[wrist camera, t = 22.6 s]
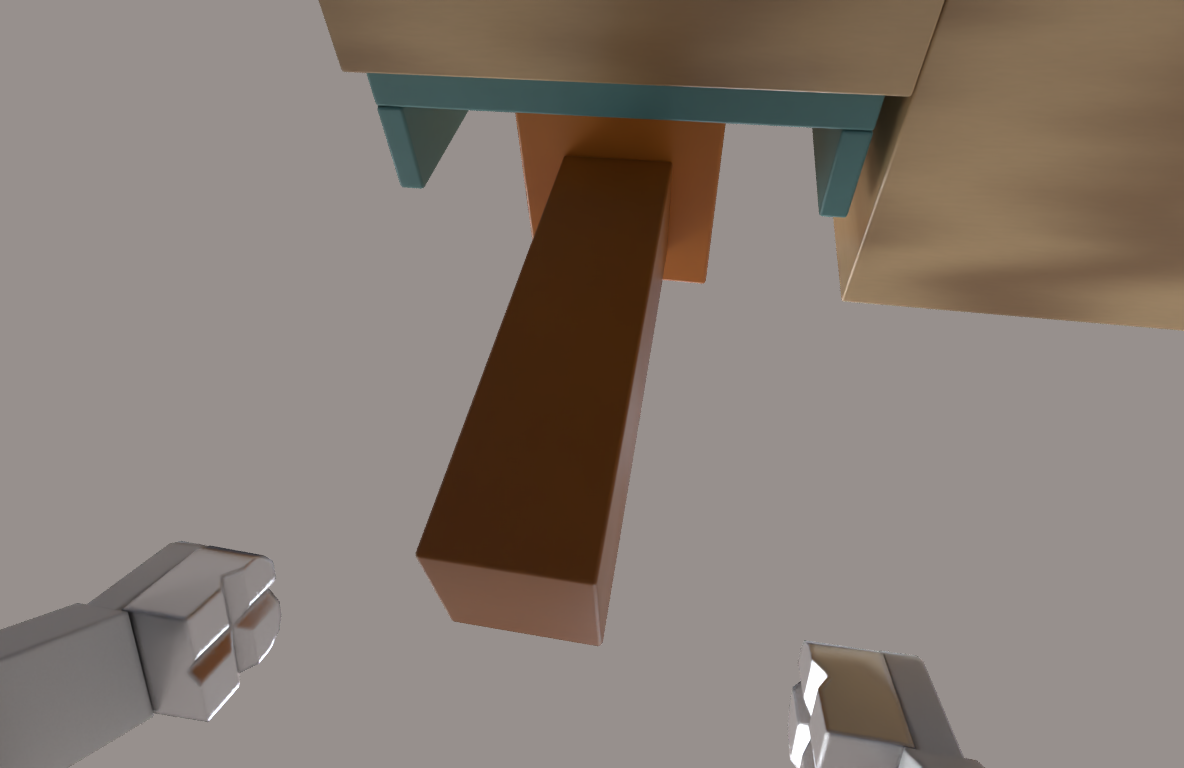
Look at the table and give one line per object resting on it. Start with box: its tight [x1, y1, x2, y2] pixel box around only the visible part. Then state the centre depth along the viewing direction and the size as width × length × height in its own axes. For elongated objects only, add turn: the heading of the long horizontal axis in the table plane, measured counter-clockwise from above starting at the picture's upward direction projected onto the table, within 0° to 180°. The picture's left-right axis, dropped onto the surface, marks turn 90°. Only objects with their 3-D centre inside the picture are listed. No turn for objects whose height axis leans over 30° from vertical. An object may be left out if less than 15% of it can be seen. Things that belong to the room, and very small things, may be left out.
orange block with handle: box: [416, 113, 726, 646], centre depth 16 cm, size 22×4×4 cm, turn 10°
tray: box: [367, 73, 885, 218], centre depth 18 cm, size 10×14×3 cm
